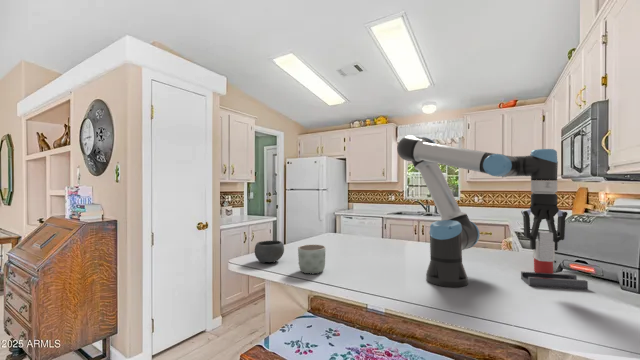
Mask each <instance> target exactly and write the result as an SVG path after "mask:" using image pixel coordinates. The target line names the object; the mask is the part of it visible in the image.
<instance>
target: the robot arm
mask: <svg viewBox="0 0 640 360" xmlns="http://www.w3.org/2000/svg"><path fill="white" fill-rule="evenodd" d="M396 150H397V154H398V156H399V157H400V158H401V159H402V160H404V161H407V162H411V163H412V165H413V167H414V169H415V170H416V171H419V172H420V173H419V174H420V175H421V177H422V180H423V181H424V183H425V186H426V188H427V189H428V192H429V194H430V196H431V198H432V201H433V203H434V205H435V207H436V209H437V212H438V214H439V216H440V220H436V221H433V222H432V223H431V224H430V226H429V232H428V233H429V246H430V247H429V252H430V255H429V257H430V260H429V264H428V267H427V270H426V273H425V274H426V275H425V277H426V278H425V279H426V282H428V283H430V284H433V285H436V286H440V287H446V288H460V287H465V286H467V285H468V284H469V282H468V281H469V278H468V275H467V272H466V270H465V266H464V263H463V251H464V250H467V249H471V248H472V247H474V246H475V245H476V244H477V243H478V242H479V240H480V234H481V233H480V229H479V228H478V226H477V224H476V223H474V222H473V221H471V220H470V218H469V216H468V215H467V213H466V212H464V211H462V210H461V209H460V206H459V204H458V202H457V200H456V198H455V196H454V194H453V192H452V190H451V188H450V186H449V184H448V182H447V180H446V178H445V175H444V173H443V171H442V169H441V167H440V166H439V164H441V165H445V166H449V167H455V168H458V169H465V170H468V171H473V172H478V173H482V174H486V175H489V176H492V177H496V178H497V177H504V178H506V177H530V192H531V194H530V206H529V208H527V209H525V210H524V209H522V210H521V215H522V218H523V237H524V238H526V239H529V241H530V242H529V246H530V247H529V248H530V249H531V250H532V259H534V258H535V259H536V260H539V241H537V240H536V239H537V235H538V231H540V230H539V229H540V226H541V223H542V222H543V221H542V220H545V221H546V223H547V229H548V231H549V232H552V233H553V262H554V261H555V256H556V255H555V254H556V252H555V251H558V247H559V246H558V243H560V241H564V240H565V237H566V236H565V232H566V218H567V216H568V212H567V211H564V210H560V209H559V207H558V194H557V193H558V169H559V168H558V165H559V161H558V152H557V150H556V149H554V148H540V149H539V148H538V149H532V150H531V151H530V155H521V156H520V155H517V156H512V155H506V154H501V153H493V152H486V151H481V150H475V149H469V148H463V147H456V146H450V145H444V144H438V143H436V142H435V141H434V140H432V139H431V138H427V137H424V136H423V137H420V136H416V135H406V136H404V137H402V138H401V139H399V142H398V143H397V149H396ZM531 214H532V215H533V222H532V227H531V218H530V216H531ZM556 215H557V222H556V221H555V218H554V217H555V216H556ZM555 222H556V223H557V224H556V225H557V226H556V225H555ZM556 227H557V228H556Z"/></svg>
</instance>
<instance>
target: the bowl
mask: <svg viewBox="0 0 640 360" xmlns="http://www.w3.org/2000/svg"><path fill="white" fill-rule="evenodd" d="M284 253H285V245H284V243H283V242H282V241H280V240H264V241H258V242H257V243H256V244H255V246H254V255H255V258H256V260H257V261H259V262H260V263H263V262H273V263H275V262H274V261H276V262H277V261H279V260H280V259H281V258H282V257H283V255H284Z"/></svg>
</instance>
